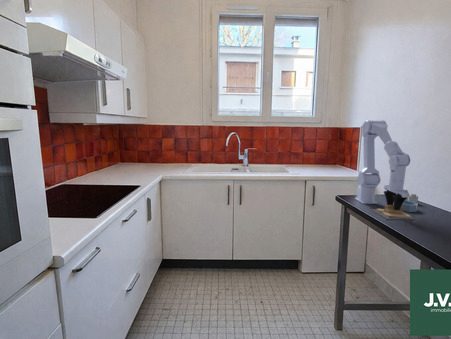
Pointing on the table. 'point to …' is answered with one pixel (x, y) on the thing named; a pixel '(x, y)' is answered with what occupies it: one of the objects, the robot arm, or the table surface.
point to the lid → (393, 212)
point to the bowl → (409, 206)
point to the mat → (391, 218)
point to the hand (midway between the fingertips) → (393, 207)
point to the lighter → (412, 197)
